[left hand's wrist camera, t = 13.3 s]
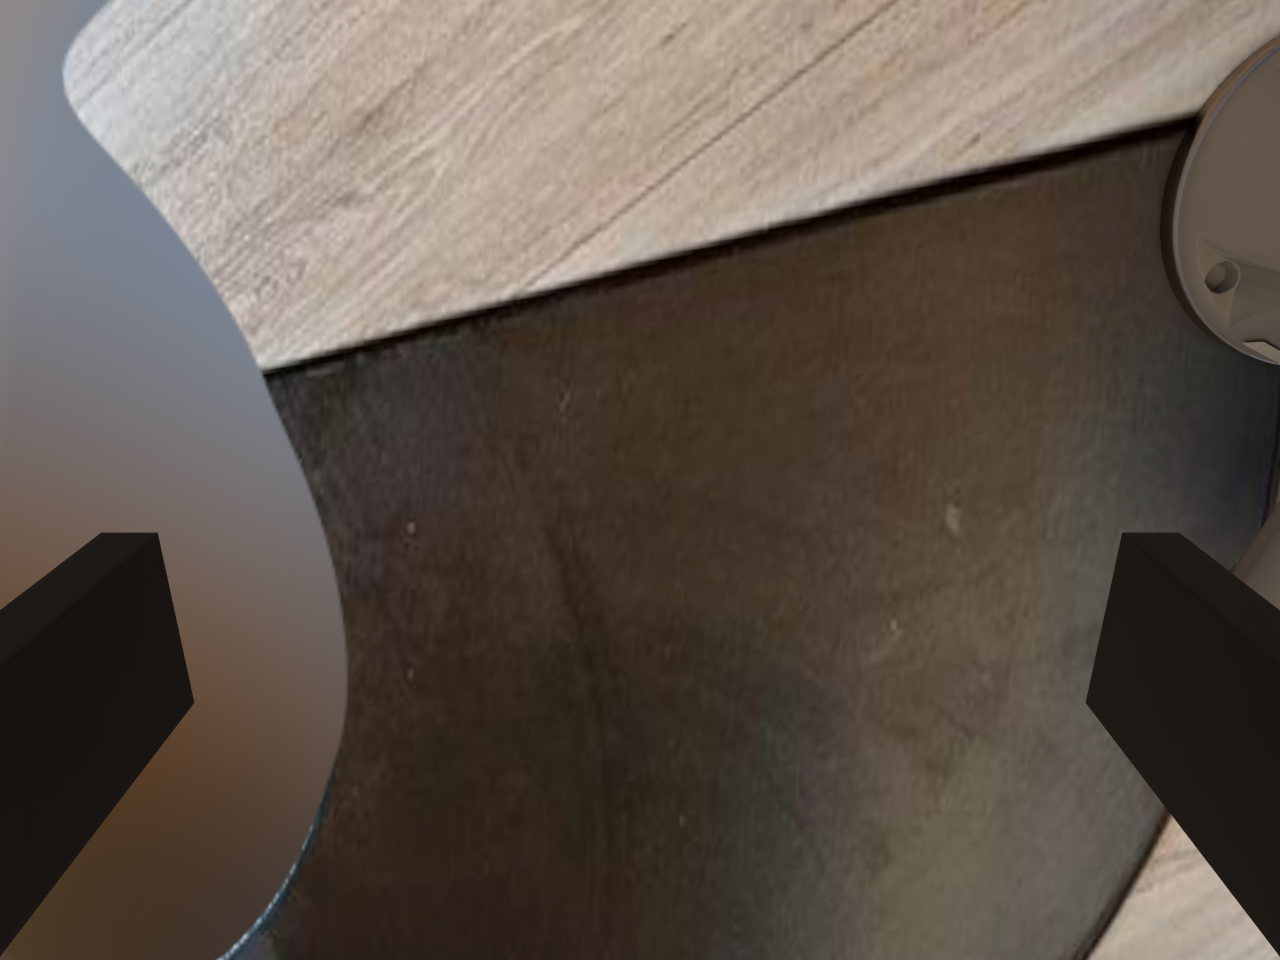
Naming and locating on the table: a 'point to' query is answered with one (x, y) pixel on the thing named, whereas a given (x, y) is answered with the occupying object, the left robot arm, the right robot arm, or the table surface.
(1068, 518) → the table surface
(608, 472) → the table surface
